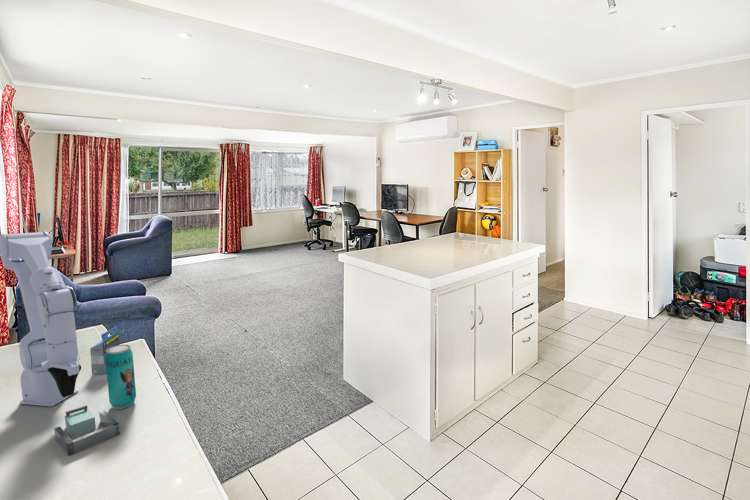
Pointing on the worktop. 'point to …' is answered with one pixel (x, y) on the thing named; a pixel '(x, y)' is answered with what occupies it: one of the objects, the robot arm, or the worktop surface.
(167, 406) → the worktop surface
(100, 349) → the label tape box
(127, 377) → the beverage can
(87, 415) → the mint cube with handle
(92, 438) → the bay
